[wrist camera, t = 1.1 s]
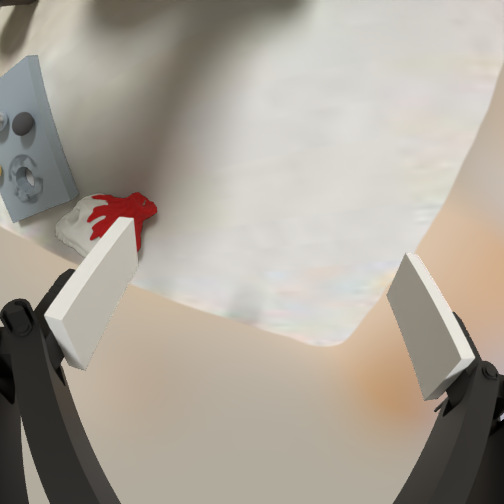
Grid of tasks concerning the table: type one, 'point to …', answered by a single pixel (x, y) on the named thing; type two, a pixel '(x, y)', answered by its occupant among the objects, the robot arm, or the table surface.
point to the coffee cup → (15, 2)
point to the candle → (101, 219)
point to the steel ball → (3, 120)
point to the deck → (31, 146)
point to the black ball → (22, 123)
